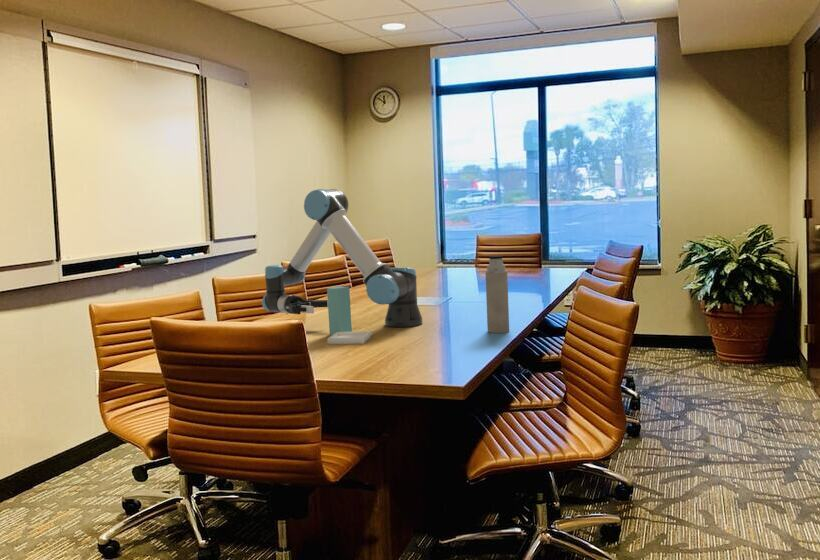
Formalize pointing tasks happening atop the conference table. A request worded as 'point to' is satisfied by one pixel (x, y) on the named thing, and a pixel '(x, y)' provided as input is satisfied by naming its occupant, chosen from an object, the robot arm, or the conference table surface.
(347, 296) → the teal post
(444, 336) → the conference table surface
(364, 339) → the tray
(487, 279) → the thermos bottle
